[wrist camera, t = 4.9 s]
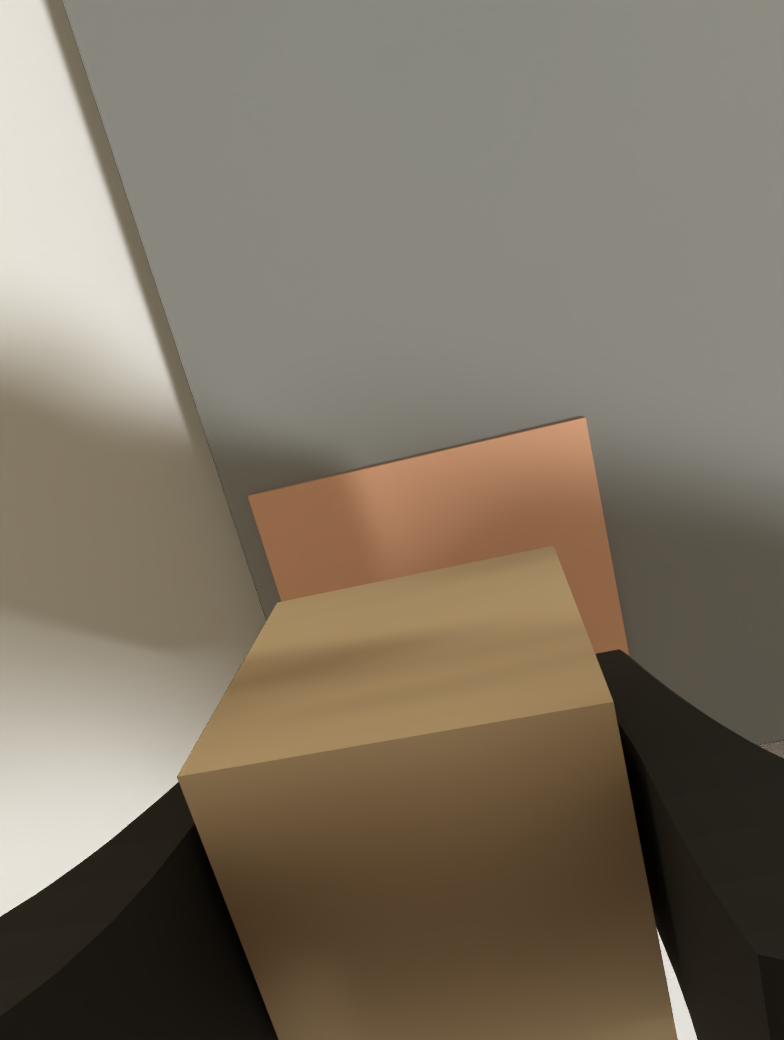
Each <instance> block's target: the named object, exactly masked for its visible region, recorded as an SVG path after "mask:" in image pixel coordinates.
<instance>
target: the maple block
mask: <svg viewBox="0 0 784 1040" xmlns="http://www.w3.org/2000/svg"><path fill="white" fill-rule="evenodd" d="M177 778H178V781H179V784H180V786H181V789H182V791H183V794H184V797H185V799H186V802H187V804H188V807H189V809H190V812H191V815H192V817H193V820H194V822H195V825H196V827H197V830H198V833H199V835H200V838H201V840H202V843H203V846H204V848H205V851H206V853H207V856H208V858H209V861H210V864H211V866H212V869H213V871H214V874H215V877H216V879H217V882H218V884H219V887H220V889H221V892H222V895H223V897H224V900H225V902H226V905H227V908H228V910H229V913H230V915H231V918H232V920H233V923H234V926H235V928H236V931H237V933H238V936H239V939H240V941H241V944H242V946H243V949H244V951H245V954H246V957H247V959H248V962H249V964H250V967H251V970H252V972H253V975H254V977H255V980H256V982H257V985H258V988H259V990H260V993H261V995H262V998H263V1001H264V1003H265V1006H266V1008H267V1011H268V1013H269V1016H270V1019H271V1021H272V1024H273V1026H274V1029H275V1031H276V1034H277V1037H278V1039H279V1040H678V1039H677V1034H676V1029H675V1024H674V1018H673V1013H672V1008H671V1003H670V997H669V992H668V987H667V981H666V976H665V971H664V966H663V960H662V955H661V950H660V945H659V939H658V934H657V929H656V923H655V918H654V913H653V908H652V902H651V897H650V892H649V887H648V881H647V876H646V871H645V865H644V860H643V855H642V850H641V844H640V839H639V834H638V829H637V823H636V818H635V813H634V807H633V802H632V797H631V792H630V786H629V781H628V776H627V771H626V765H625V760H624V755H623V749H622V744H621V739H620V734H619V728H618V723H617V718H616V713H615V707H614V702H613V699H612V697H611V694H610V691H609V689H608V686H607V684H606V681H605V678H604V676H603V673H602V671H601V668H600V665H599V663H598V660H597V658H596V655H595V652H594V650H593V647H592V645H591V642H590V639H589V637H588V634H587V632H586V629H585V626H584V624H583V621H582V619H581V616H580V613H579V611H578V608H577V606H576V603H575V600H574V598H573V595H572V593H571V590H570V587H569V585H568V582H567V580H566V577H565V574H564V572H563V569H562V567H561V564H560V561H559V559H558V556H557V554H556V551H555V548H554V546H549V547H545V548H540V549H535V550H530V551H525V552H520V553H515V554H511V555H506V556H501V557H496V558H491V559H486V560H481V561H477V562H472V563H467V564H462V565H457V566H452V567H447V568H443V569H438V570H433V571H428V572H423V573H418V574H413V575H409V576H404V577H399V578H394V579H389V580H384V581H379V582H375V583H370V584H365V585H360V586H355V587H350V588H345V589H341V590H336V591H331V592H326V593H321V594H316V595H311V596H307V597H302V598H297V599H292V600H287V601H282V602H278V603H277V604H276V606H275V607H274V609H273V611H272V612H271V614H270V616H269V618H268V619H267V621H266V623H265V625H264V626H263V628H262V630H261V632H260V633H259V635H258V637H257V639H256V640H255V642H254V644H253V645H252V647H251V649H250V651H249V652H248V654H247V656H246V658H245V659H244V661H243V663H242V665H241V666H240V668H239V670H238V672H237V673H236V675H235V677H234V678H233V680H232V682H231V684H230V685H229V687H228V689H227V691H226V692H225V694H224V696H223V698H222V699H221V701H220V703H219V705H218V706H217V708H216V710H215V711H214V713H213V715H212V717H211V718H210V720H209V722H208V724H207V725H206V727H205V729H204V731H203V732H202V734H201V736H200V738H199V739H198V741H197V743H196V744H195V746H194V748H193V750H192V751H191V753H190V755H189V757H188V758H187V760H186V762H185V764H184V765H183V767H182V769H181V771H180V772H179V774H178V776H177Z"/></svg>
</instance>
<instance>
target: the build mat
mask: <svg viewBox="0 0 784 1040" xmlns="http://www.w3.org/2000/svg"><path fill="white" fill-rule="evenodd" d="M62 1H63V4H64V7H65V10H66V13H67V16H68V19H69V22H70V25H71V28H72V31H73V34H74V37H75V40H76V44H77V47H78V50H79V53H80V56H81V59H82V62H83V65H84V68H85V71H86V74H87V77H88V80H89V83H90V86H91V89H92V92H93V95H94V98H95V101H96V104H97V107H98V110H99V113H100V116H101V119H102V123H103V126H104V129H105V132H106V135H107V138H108V141H109V144H110V147H111V150H112V153H113V156H114V159H115V162H116V165H117V168H118V171H119V174H120V177H121V180H122V183H123V186H124V189H125V192H126V195H127V198H128V202H129V205H130V208H131V211H132V214H133V217H134V220H135V223H136V226H137V229H138V232H139V235H140V238H141V241H142V244H143V247H144V250H145V253H146V256H147V259H148V262H149V265H150V268H151V271H152V274H153V277H154V280H155V284H156V287H157V290H158V293H159V296H160V299H161V302H162V305H163V308H164V311H165V314H166V317H167V320H168V323H169V326H170V329H171V332H172V335H173V338H174V341H175V344H176V347H177V350H178V353H179V356H180V359H181V363H182V366H183V369H184V372H185V375H186V378H187V381H188V384H189V387H190V390H191V393H192V396H193V399H194V402H195V405H196V408H197V411H198V414H199V417H200V420H201V423H202V426H203V429H204V432H205V435H206V438H207V442H208V445H209V448H210V451H211V454H212V457H213V460H214V463H215V466H216V469H217V472H218V475H219V478H220V481H221V484H222V487H223V490H224V493H225V496H226V499H227V502H228V505H229V508H230V511H231V514H232V517H233V520H234V524H235V527H236V530H237V533H238V536H239V539H240V542H241V545H242V548H243V551H244V554H245V557H246V560H247V563H248V566H249V569H250V572H251V575H252V578H253V581H254V584H255V587H256V590H257V593H258V596H259V599H260V603H261V606H262V609H263V612H264V615H265V618H266V621H267V619H268V618H269V616H270V614H271V612H272V611H273V609H274V607H275V606H276V604H277V603H278V602H282V601H287V600H292V599H297V598H302V597H307V596H311V595H316V594H321V593H326V592H331V591H336V590H341V589H345V588H350V587H355V586H360V585H365V584H370V583H375V582H379V581H384V580H389V579H394V578H399V577H404V576H409V575H413V574H418V573H423V572H428V571H433V570H438V569H443V568H447V567H452V566H457V565H462V564H467V563H472V562H477V561H481V560H486V559H491V558H496V557H501V556H506V555H511V554H515V553H520V552H525V551H530V550H535V549H540V548H545V547H549V546H554V548H555V551H556V554H557V556H558V559H559V561H560V564H561V567H562V569H563V572H564V574H565V577H566V580H567V582H568V585H569V587H570V590H571V593H572V595H573V598H574V600H575V603H576V606H577V608H578V611H579V613H580V616H581V619H582V621H583V624H584V626H585V629H586V632H587V634H588V637H589V639H590V642H591V645H592V647H593V650H594V652H595V654H596V653H602V652H607V651H613V650H618V649H620V650H622V651H623V652H625V653H626V654H628V655H629V656H630V657H631V658H632V659H634V660H635V661H636V662H637V663H638V664H640V665H641V666H642V667H643V668H644V669H646V670H647V671H648V672H649V673H651V674H652V675H653V676H654V677H656V678H657V679H658V680H659V681H661V682H662V683H663V684H665V685H666V686H667V687H668V688H670V689H671V690H672V691H674V692H675V693H676V694H678V695H679V696H681V697H682V698H683V699H685V700H686V701H688V702H689V703H691V704H692V705H693V706H695V707H696V708H698V709H699V710H701V711H702V712H703V713H705V714H706V715H708V716H709V717H711V718H712V719H714V720H715V721H717V722H719V723H720V724H722V725H723V726H725V727H727V728H728V729H730V730H732V731H733V732H735V733H737V734H738V735H740V736H742V737H743V738H745V739H747V740H748V741H750V742H752V743H754V744H756V745H759V744H765V743H771V742H778V741H784V0H62Z"/></svg>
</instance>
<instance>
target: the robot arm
mask: <svg viewBox="0 0 784 1040" xmlns="http://www.w3.org/2000/svg"><path fill="white" fill-rule="evenodd" d="M595 655H596V658H597V660H598V663H599V665H600V668H601V671H602V673H603V676H604V678H605V681H606V684H607V686H608V689H609V691H610V694H611V697H612V699H613V702H614V707H615V713H616V718H617V723H618V728H619V734H620V739H621V744H622V749H623V755H624V760H625V765H626V771H627V776H628V781H629V786H630V792H631V797H632V802H633V807H634V813H635V818H636V823H637V829H638V834H639V839H640V844H641V850H642V855H643V860H644V865H645V871H646V876H647V881H648V887H649V892H650V897H651V902H652V908H653V913H654V918H655V923H656V927H657V930H658V932H659V935H660V937H661V940H662V942H663V945H664V947H665V949H666V952H667V954H668V957H669V959H670V962H671V964H672V967H673V969H674V972H675V974H676V977H677V979H678V982H679V985H680V988H681V991H682V993H683V996H684V999H685V1002H686V1005H687V1007H688V1010H689V1013H690V1016H691V1019H692V1023H693V1026H694V1029H695V1032H696V1036H697V1039H698V1040H784V759H783V758H781V757H779V756H777V755H775V754H773V753H771V752H769V751H767V750H765V749H763V748H761V747H759V746H758V745H756V744H754V743H752V742H750V741H748V740H747V739H745V738H743V737H742V736H740V735H738V734H737V733H735V732H733V731H732V730H730V729H728V728H727V727H725V726H723V725H722V724H720V723H719V722H717V721H715V720H714V719H712V718H711V717H709V716H708V715H706V714H705V713H703V712H702V711H701V710H699V709H698V708H696V707H695V706H693V705H692V704H691V703H689V702H688V701H686V700H685V699H683V698H682V697H681V696H679V695H678V694H676V693H675V692H674V691H672V690H671V689H670V688H668V687H667V686H666V685H665V684H663V683H662V682H661V681H659V680H658V679H657V678H656V677H654V676H653V675H652V674H651V673H649V672H648V671H647V670H646V669H644V668H643V667H642V666H641V665H640V664H638V663H637V662H636V661H635V660H634V659H632V658H631V657H630V656H629V655H628V654H626V653H625V652H623V651H622V650H620V649H618V650H613V651H607V652H602V653H596V654H595ZM0 1040H279V1039H278V1037H277V1034H276V1031H275V1029H274V1026H273V1024H272V1021H271V1019H270V1016H269V1013H268V1011H267V1008H266V1006H265V1003H264V1001H263V998H262V995H261V993H260V990H259V988H258V985H257V982H256V980H255V977H254V975H253V972H252V970H251V967H250V964H249V962H248V959H247V957H246V954H245V951H244V949H243V946H242V944H241V941H240V939H239V936H238V933H237V931H236V928H235V926H234V923H233V920H232V918H231V915H230V913H229V910H228V908H227V905H226V902H225V900H224V897H223V895H222V892H221V889H220V887H219V884H218V882H217V879H216V877H215V874H214V871H213V869H212V866H211V864H210V861H209V858H208V856H207V853H206V851H205V848H204V846H203V843H202V840H201V838H200V835H199V833H198V830H197V827H196V825H195V822H194V820H193V817H192V815H191V812H190V809H189V807H188V804H187V802H186V799H185V797H184V794H183V791H182V789H181V786H180V784H179V782H178V783H177V784H176V785H175V786H174V787H172V788H171V789H170V790H169V791H168V792H167V793H166V794H165V795H163V796H162V797H161V798H160V799H159V800H158V801H156V802H155V803H154V804H153V805H152V806H150V807H149V808H148V809H147V810H146V811H145V812H143V813H142V814H141V815H140V816H139V817H137V818H136V819H135V820H134V821H133V822H131V823H130V824H129V825H128V826H127V827H126V828H124V829H123V830H122V831H121V832H120V833H118V834H117V835H116V836H115V837H114V838H112V839H111V840H110V841H109V842H107V843H106V844H105V845H104V846H102V847H101V848H100V849H98V850H97V851H96V852H94V853H93V854H92V855H90V856H89V857H88V858H87V859H85V860H84V861H83V862H81V863H80V864H78V865H77V866H76V867H74V868H73V869H71V870H70V871H69V872H67V873H66V874H64V875H63V876H62V877H60V878H59V879H57V880H56V881H55V882H53V883H52V884H50V885H49V886H48V887H46V888H45V889H43V890H42V891H40V892H39V893H37V894H36V895H34V896H33V897H31V898H29V899H28V900H26V901H25V902H23V903H21V904H20V905H18V906H17V907H15V908H13V909H12V910H10V911H9V912H7V913H6V914H4V915H2V916H1V917H0Z"/></svg>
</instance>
